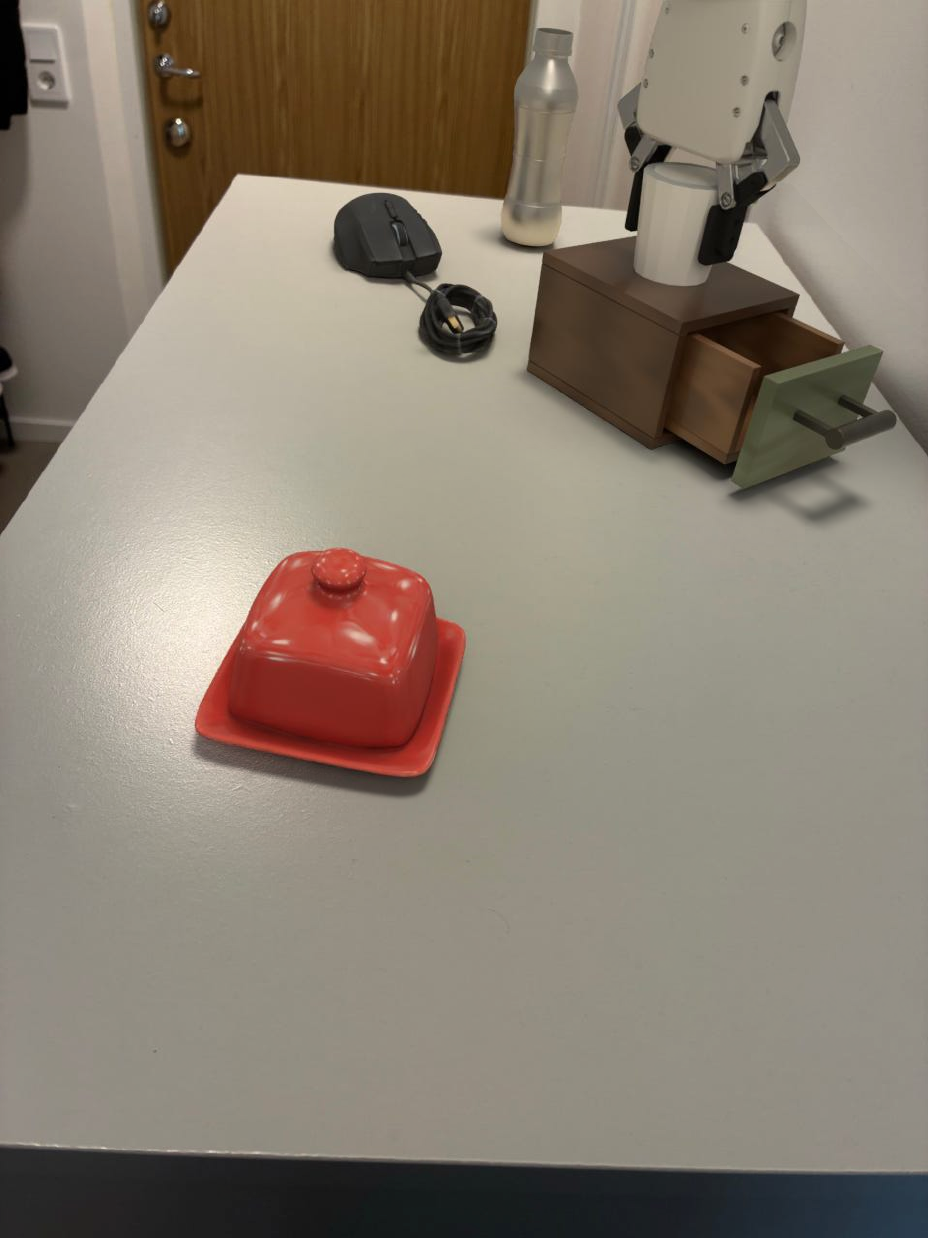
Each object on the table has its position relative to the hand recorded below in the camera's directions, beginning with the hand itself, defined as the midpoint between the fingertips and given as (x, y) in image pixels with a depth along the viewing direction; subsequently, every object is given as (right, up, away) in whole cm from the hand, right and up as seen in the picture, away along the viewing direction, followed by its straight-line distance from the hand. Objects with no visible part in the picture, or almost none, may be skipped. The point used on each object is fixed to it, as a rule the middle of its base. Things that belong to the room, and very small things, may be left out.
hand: (677, 242), depth 70 cm
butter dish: (-22, -32, -22) cm, 45 cm away
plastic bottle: (-9, +13, +34) cm, 37 cm away
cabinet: (-1, -9, +8) cm, 12 cm away
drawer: (+5, -15, +1) cm, 15 cm away
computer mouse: (-21, +4, +20) cm, 30 cm away
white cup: (0, -2, +1) cm, 2 cm away
